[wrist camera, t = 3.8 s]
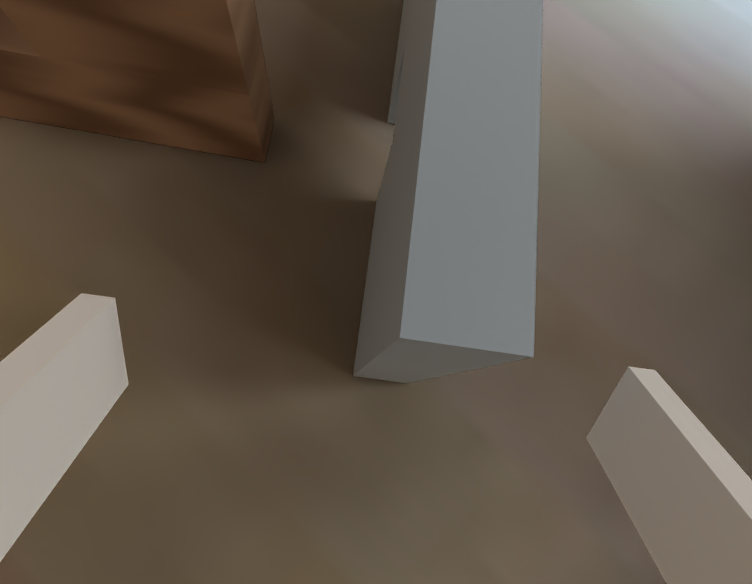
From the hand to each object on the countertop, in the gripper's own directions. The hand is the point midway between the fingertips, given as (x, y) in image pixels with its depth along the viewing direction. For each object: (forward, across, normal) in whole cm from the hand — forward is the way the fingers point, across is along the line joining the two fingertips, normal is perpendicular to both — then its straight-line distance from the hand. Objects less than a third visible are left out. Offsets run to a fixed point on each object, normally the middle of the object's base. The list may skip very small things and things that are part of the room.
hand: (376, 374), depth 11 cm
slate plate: (+14, +1, +2) cm, 14 cm away
